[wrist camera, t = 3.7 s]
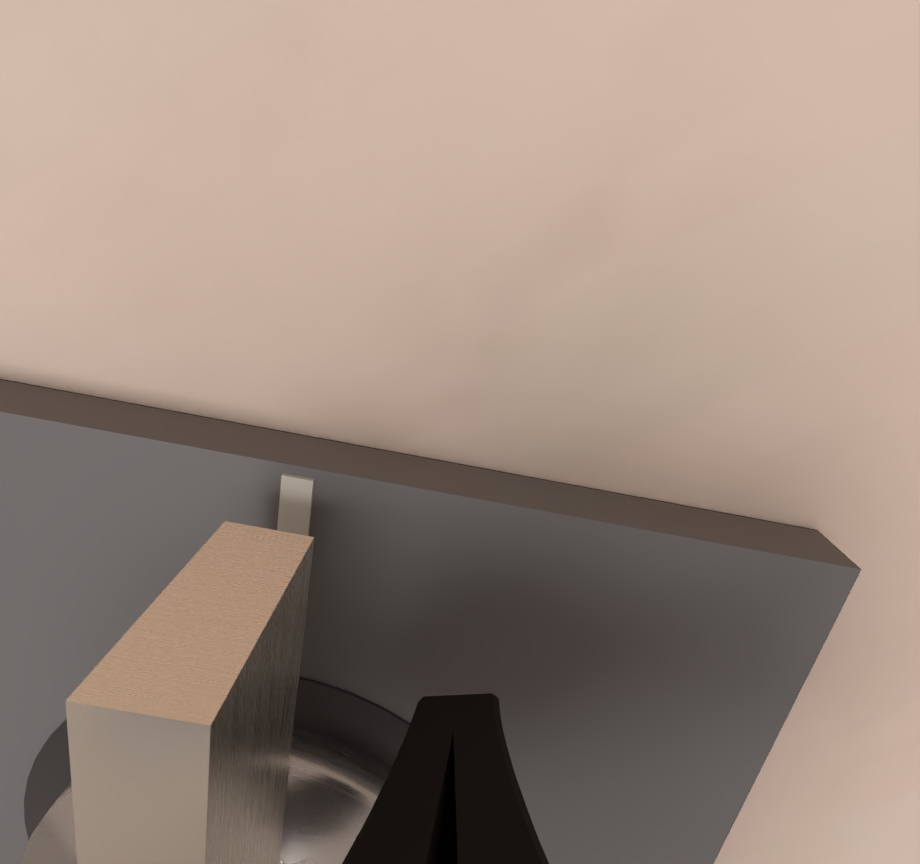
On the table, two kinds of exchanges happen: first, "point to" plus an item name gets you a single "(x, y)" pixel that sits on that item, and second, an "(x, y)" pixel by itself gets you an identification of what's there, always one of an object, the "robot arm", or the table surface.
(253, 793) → the dial
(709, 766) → the dial plate
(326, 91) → the table surface
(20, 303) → the table surface
